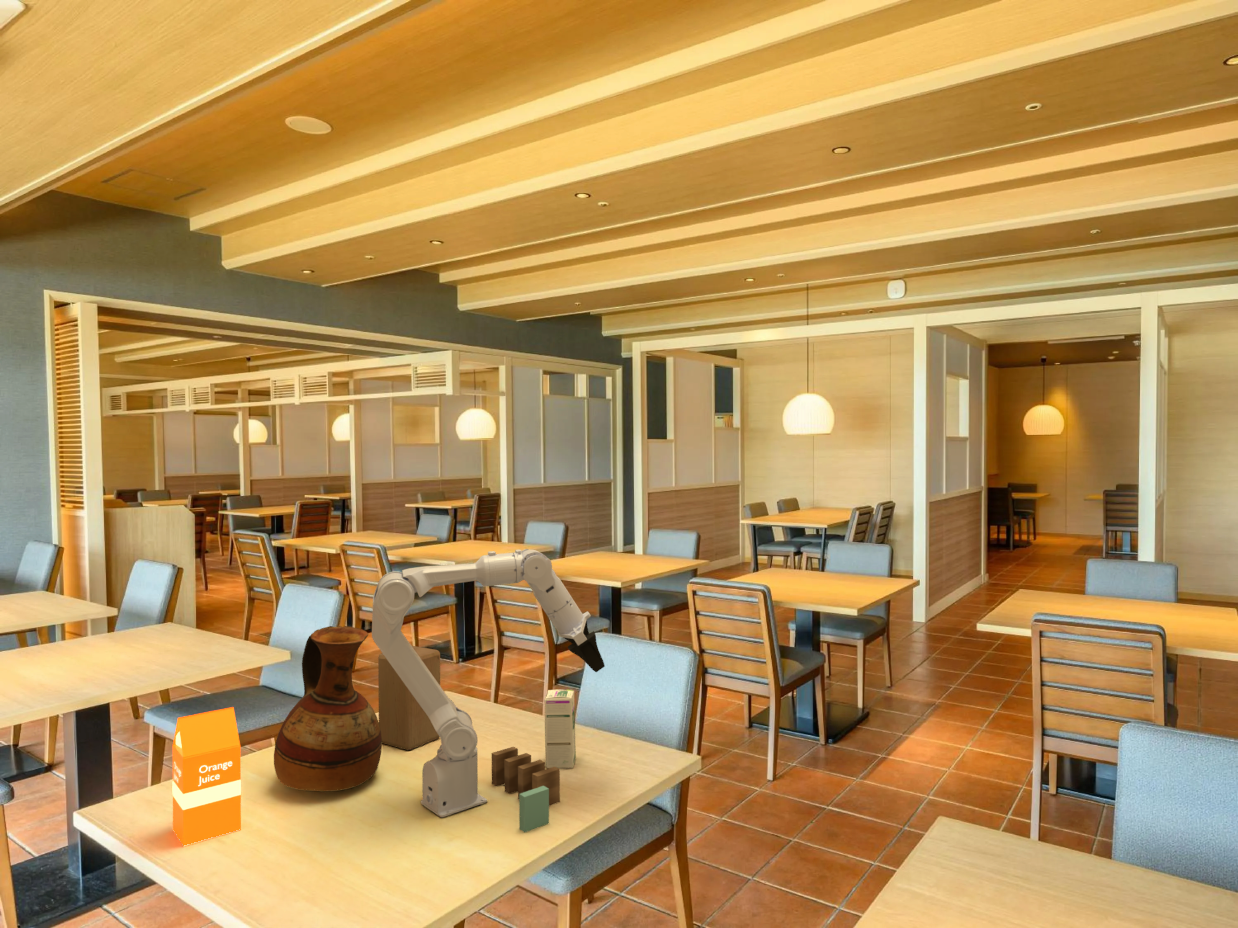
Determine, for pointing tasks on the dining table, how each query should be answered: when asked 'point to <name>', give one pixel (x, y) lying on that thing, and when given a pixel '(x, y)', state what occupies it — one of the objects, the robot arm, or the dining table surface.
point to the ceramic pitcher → (329, 720)
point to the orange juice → (206, 776)
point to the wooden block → (404, 705)
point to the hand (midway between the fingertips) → (596, 662)
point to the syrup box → (560, 729)
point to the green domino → (533, 808)
